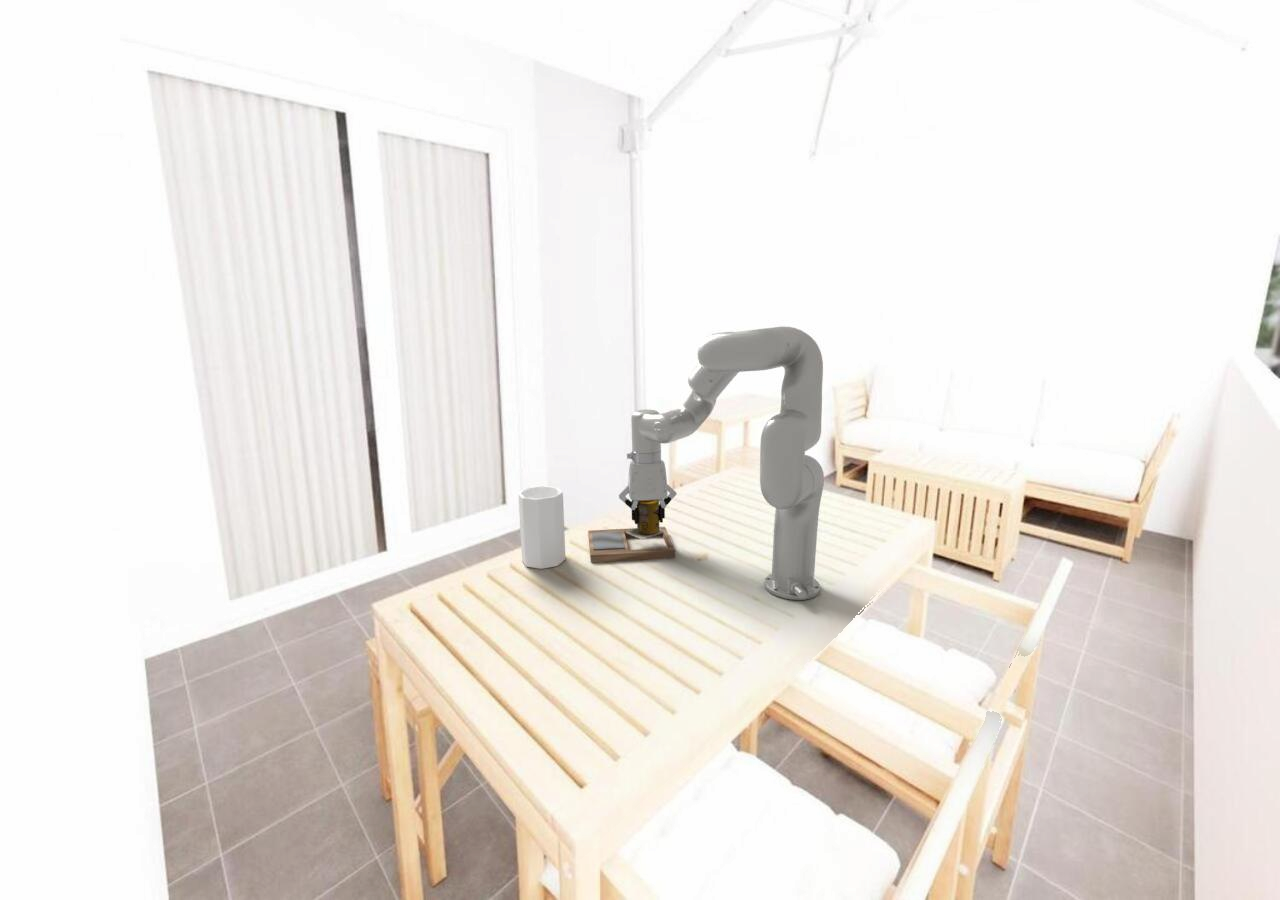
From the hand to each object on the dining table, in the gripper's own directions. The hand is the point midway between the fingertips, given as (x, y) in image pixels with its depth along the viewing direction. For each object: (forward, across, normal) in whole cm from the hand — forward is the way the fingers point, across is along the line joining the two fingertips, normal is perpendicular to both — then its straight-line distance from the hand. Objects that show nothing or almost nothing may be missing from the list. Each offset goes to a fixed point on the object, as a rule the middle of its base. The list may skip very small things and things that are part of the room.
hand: (648, 521), depth 161 cm
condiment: (+3, -1, 0) cm, 3 cm away
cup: (+7, -28, -5) cm, 29 cm away
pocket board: (+7, -5, +1) cm, 9 cm away
